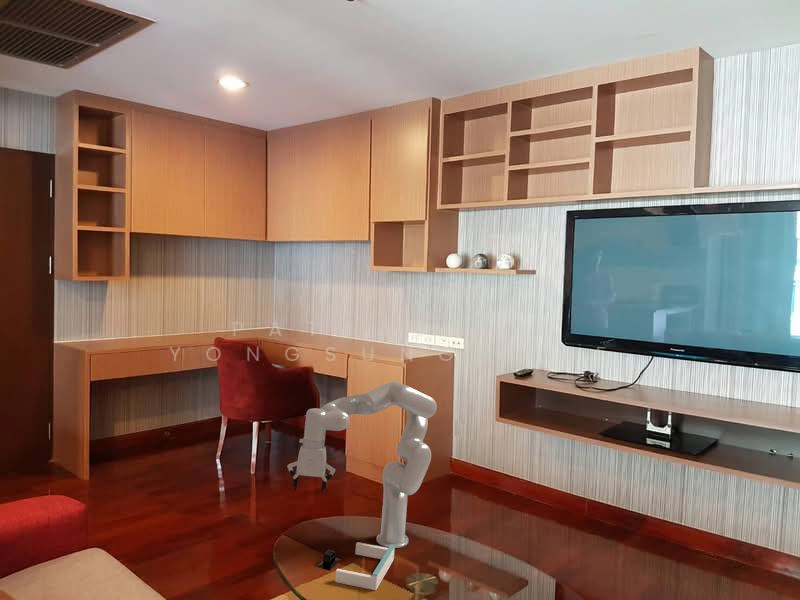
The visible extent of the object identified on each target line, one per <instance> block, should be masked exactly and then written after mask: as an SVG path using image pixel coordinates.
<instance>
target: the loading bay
mask: <svg viewBox="0 0 800 600" xmlns="http://www.w3.org/2000/svg"><path fill="white" fill-rule="evenodd" d="M395 549H396V548H395V546H394V545H390V547H385V546H381V545H374V544H369V543H363V542H359V541H358V542H356V543H355V553H354V554H355V555H358V556H361V557H362V556H363V557H367V558H371V559H372V558H373V559H379V560H380V562H379V563H378V565H377V566H376V567H375V569H374V571H373V572H372V574H365V573H361V572H357V571H350V570H346V569H342V568H337V569H336V570H335V581H334V583H338V584H343V585H346V586H347V585H349V586H352V587H353V586H354V587H357V588H358V587H359V588H363V589H367V590H372V591H377V589H378V587H379V586H380V585H381V582H382V581H383V579H384V577H385V576H386V574H387V572H388V570H389V568H390V567H391V565H392V564H393V561H394V560H395V559H394V558H395Z"/></svg>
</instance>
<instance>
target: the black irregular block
mask: <svg viewBox="0 0 800 600" xmlns="http://www.w3.org/2000/svg"><path fill="white" fill-rule="evenodd" d="M336 554H337V553H336V551H335V550H332V549H327V550H326V551H325V552H324V553H323V557H322V561H321V562H320V563H319V564H317V565H316V566H315V567H316V568H318V569H322V570H324V571H325V570H326V571H330V572H331V570H332V569H333V568H334V567H335V566H336V565H338V563H340V561H342V559H341V558H337V557H336Z"/></svg>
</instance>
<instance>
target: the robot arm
mask: <svg viewBox="0 0 800 600" xmlns="http://www.w3.org/2000/svg"><path fill="white" fill-rule="evenodd" d="M392 406H397V407H398V408H402V409H403V410H405V413H406V418H407V420H406V424H405V426H404V430H403V431H402V434H401V437H400V439H399V441H398V443H397V446H396V449H395V450H396V454H397V456H398V458H400V459H401V460H402V461H405V462H406V464H404V463H403V462H400V461H399V460H398V461H396V460H392V461H390V462H387V464H385V466H384V468H383V471H382V484H383V485H382V486H383V495H382V497H383V498H382V509H381V510H382V511H381V524H380V525H381V526H380V533H378V534H377V535H376V543H378V544H379V546H381V547H385V548H389V547H390V545H394V546H395V549H398V548H399V549H400V548H403V547H405V546H407V545H408V544H409V537H408V536H407V534H406V524H407V523H406V521H407V509H408V508H407V507H408V496H411V495H414V494H416V493H417V492H418V491H419V489H420V487H421V485H422V483H423V481H424V478H425V476H426V474H427V471H428V469H429V467H430V464H431V460H432V450H431V448H430V447H429V446H428V444H427V443H425V442H424V440H425V436H426V433H427V430H428V426H429V425H428V424H429V422H428V421H429V420H428V419H430V418H432V417H433V416H435V414H436V412H437V409H438V406H437V402H436V400H435V399H434V398H433V397H432V396H430V395H427V394H425V393H423V392H420V390H419V391H418V390H416V389H414V388H413V387H411V386H409V385H406V384H404V383H401V382H399V381H391V382H388V383H385V384H382V385H380V386H378V387H376V388H373V389H371V390H369V391H367V392H364V393H359V394H353V395H348V396H344V397H340V398H337V399H335V400H332V401H329V402H328V403H325V405H323V406H322V407H321V408H316V407H315V408H309V409H308V410H307V411H306V414H305V422H304V423H305V424H304V434H303V435H304V436H303V438H299V441H298V443H301V444H302V445H301V446H300V449H299V451H298V457H297V461H294V462H291V463H289V464H287V465H286V466H287V467H286V468H287V469H288V472H289V475H291V477H292V478H293V486H292V487H294V491H297V490H298V487H299V480H300V479H299V476H305V477H314V478H321V479H322V480H321V481H322V482H321V491H320V492H321V493H323V494H324V491H325V490H327V482H328V481H330V479H332V477H333V476H334V474H335V472H336V468H334V467H333V466H331V465H330V464H328V463H327V448H326V446H325V443H326V442H325V441H326V432H327V431H335V432H336V431H337V432H339V431H343V430H346V429H347V428H348V426H349V425H350V417H349V416H351V415H363V416H365V415H366V416H370V415H374V414H376V413H379V412H381V411H383V410H385V409H387V408H389V407H392ZM294 467H296V470H294V469H293V468H294ZM326 470H328V471H329V474H326Z"/></svg>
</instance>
